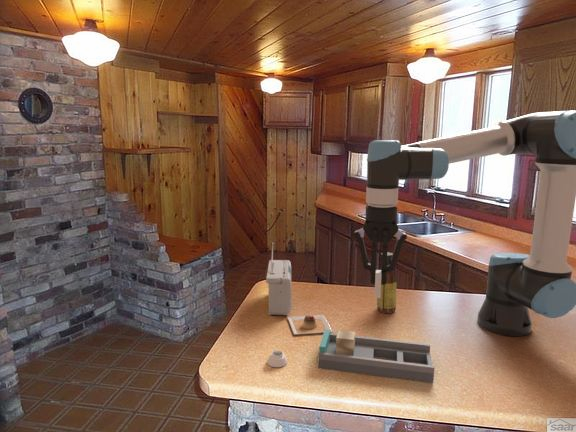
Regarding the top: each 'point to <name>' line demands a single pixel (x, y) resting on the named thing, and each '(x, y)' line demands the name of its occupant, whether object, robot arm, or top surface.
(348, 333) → the maple block
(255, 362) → the top surface
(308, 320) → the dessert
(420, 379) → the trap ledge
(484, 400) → the top surface
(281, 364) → the white jar
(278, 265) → the stereo radio cassette player
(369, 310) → the top surface
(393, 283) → the sauce bottle
